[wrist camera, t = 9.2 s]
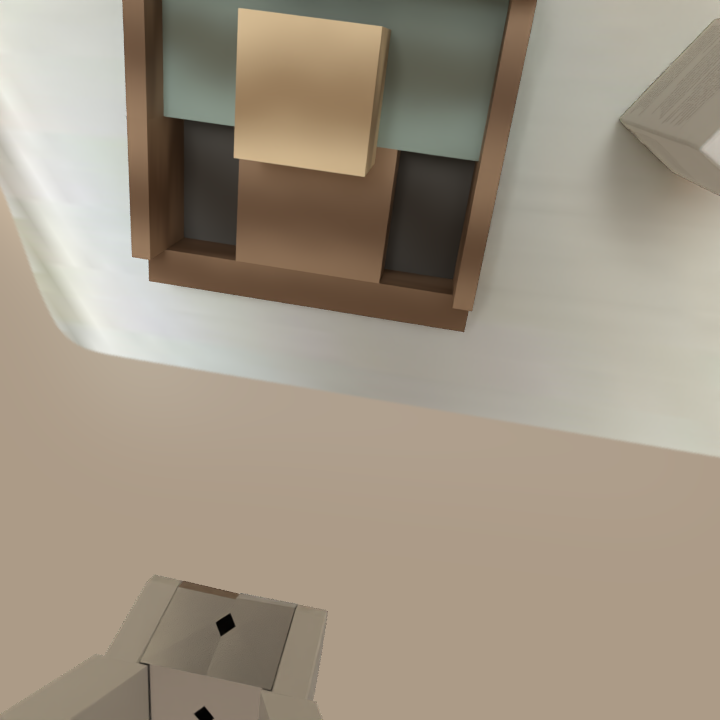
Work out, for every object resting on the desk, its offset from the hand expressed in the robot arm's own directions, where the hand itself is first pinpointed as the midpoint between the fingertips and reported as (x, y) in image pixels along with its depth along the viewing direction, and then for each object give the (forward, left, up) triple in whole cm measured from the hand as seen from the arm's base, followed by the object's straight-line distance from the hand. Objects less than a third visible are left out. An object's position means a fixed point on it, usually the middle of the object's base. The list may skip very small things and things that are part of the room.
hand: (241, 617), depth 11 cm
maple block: (-6, -4, -26) cm, 27 cm away
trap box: (-4, -4, -29) cm, 29 cm away
